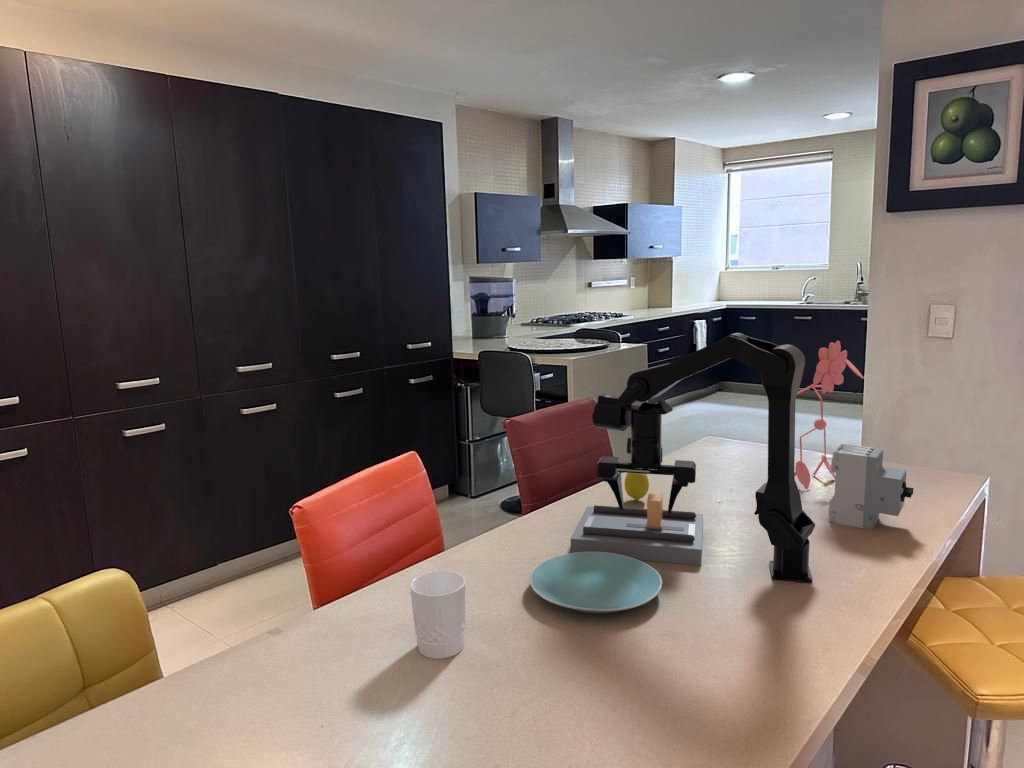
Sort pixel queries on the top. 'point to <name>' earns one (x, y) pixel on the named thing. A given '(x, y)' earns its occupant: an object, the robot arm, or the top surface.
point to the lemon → (636, 485)
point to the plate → (595, 581)
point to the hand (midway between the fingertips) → (645, 511)
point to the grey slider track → (640, 533)
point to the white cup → (439, 613)
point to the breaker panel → (638, 546)
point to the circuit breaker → (865, 487)
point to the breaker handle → (654, 511)
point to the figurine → (828, 376)
